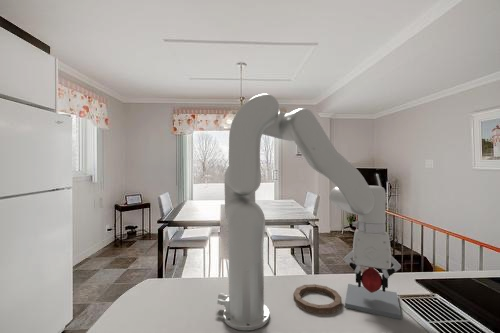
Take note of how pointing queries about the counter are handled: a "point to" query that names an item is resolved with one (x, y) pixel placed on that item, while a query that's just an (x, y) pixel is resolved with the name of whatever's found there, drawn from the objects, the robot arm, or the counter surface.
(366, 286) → the onion
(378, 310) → the board
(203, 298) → the counter surface
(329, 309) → the ring holder
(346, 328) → the counter surface
